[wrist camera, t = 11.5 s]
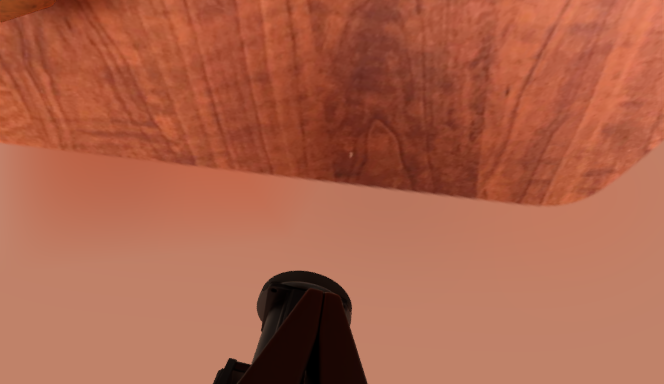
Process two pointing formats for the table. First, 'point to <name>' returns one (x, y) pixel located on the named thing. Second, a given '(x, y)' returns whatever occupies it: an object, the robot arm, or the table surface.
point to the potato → (21, 7)
